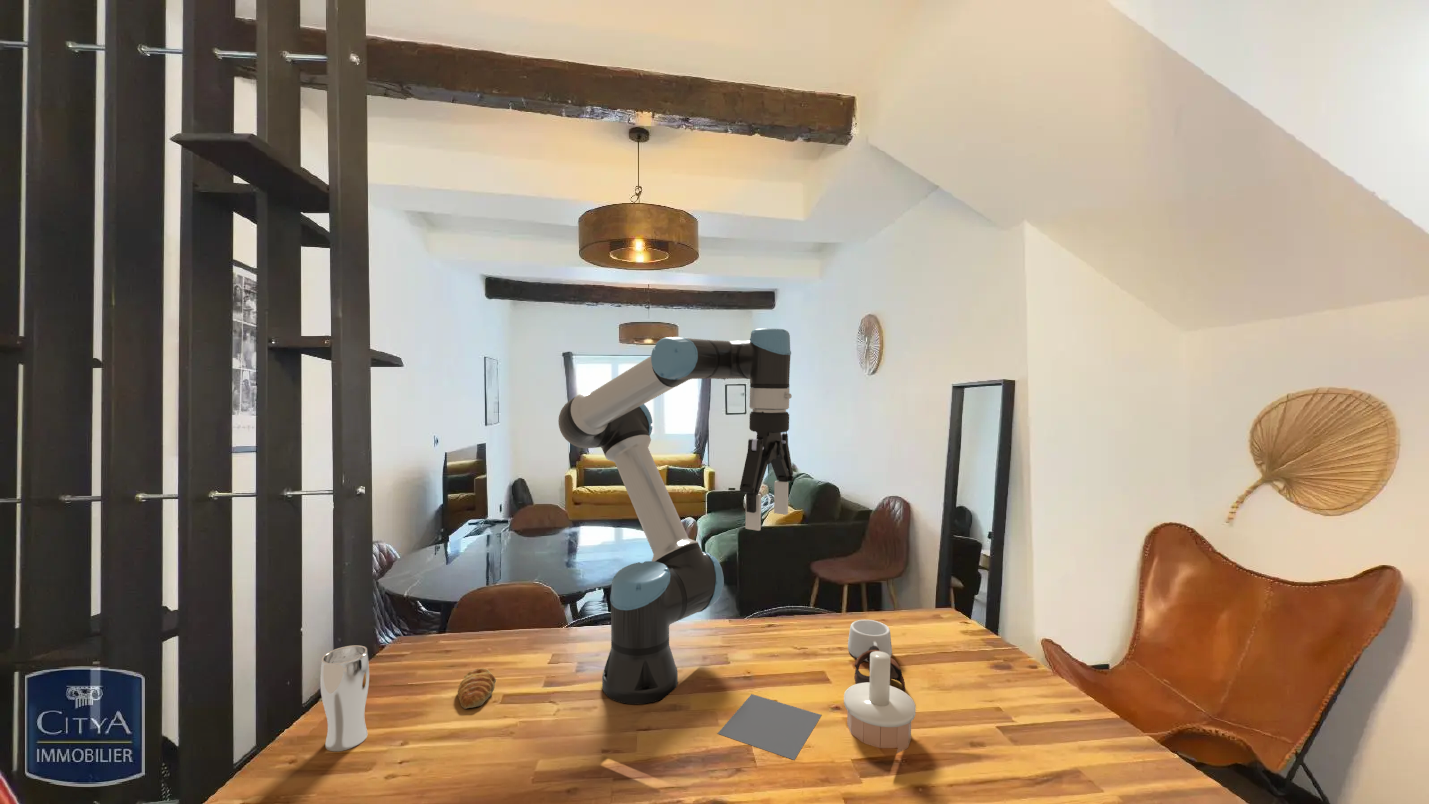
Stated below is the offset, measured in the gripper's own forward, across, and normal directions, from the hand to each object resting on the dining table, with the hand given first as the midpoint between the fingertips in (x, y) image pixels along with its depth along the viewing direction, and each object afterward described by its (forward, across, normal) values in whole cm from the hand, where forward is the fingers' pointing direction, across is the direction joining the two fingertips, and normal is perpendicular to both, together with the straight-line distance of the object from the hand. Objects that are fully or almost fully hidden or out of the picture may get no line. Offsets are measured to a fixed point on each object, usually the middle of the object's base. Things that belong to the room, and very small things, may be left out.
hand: (767, 521), depth 111 cm
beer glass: (+35, -47, +57) cm, 82 cm away
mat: (+35, -9, -5) cm, 36 cm away
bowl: (+34, -1, -22) cm, 41 cm away
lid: (+29, -1, -22) cm, 37 cm away
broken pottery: (+35, +15, -18) cm, 42 cm away
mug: (+35, +27, -14) cm, 46 cm away
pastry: (+35, -27, +49) cm, 66 cm away
